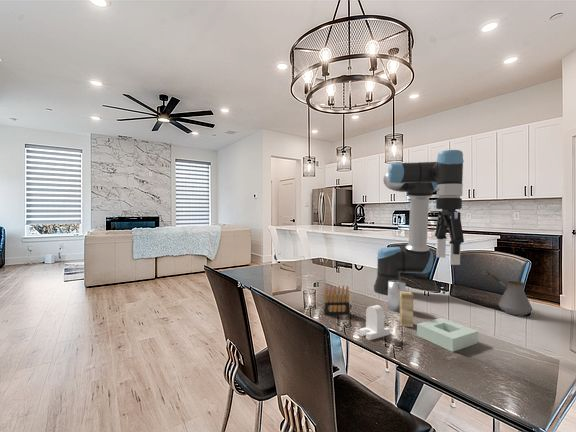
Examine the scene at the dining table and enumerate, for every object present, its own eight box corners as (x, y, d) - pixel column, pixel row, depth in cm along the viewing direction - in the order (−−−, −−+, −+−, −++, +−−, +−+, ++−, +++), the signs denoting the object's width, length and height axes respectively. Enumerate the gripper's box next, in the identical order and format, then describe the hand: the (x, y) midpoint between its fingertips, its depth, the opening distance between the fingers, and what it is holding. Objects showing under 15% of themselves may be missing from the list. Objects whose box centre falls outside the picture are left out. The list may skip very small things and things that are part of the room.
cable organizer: (390, 334, 102) (390, 306, 102) (369, 340, 97) (369, 310, 97) (379, 328, 107) (379, 301, 107) (358, 334, 102) (358, 306, 102)
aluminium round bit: (395, 305, 133) (396, 279, 132) (408, 310, 126) (409, 282, 126) (384, 307, 129) (384, 281, 129) (396, 313, 123) (397, 284, 123)
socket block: (441, 328, 107) (441, 317, 107) (477, 343, 95) (478, 331, 95) (416, 335, 101) (417, 324, 101) (452, 351, 90) (452, 339, 90)
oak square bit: (399, 322, 113) (400, 291, 113) (410, 322, 112) (411, 292, 112) (401, 326, 109) (402, 294, 109) (412, 326, 108) (413, 295, 108)
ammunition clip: (348, 312, 123) (348, 284, 123) (349, 314, 121) (350, 285, 121) (323, 313, 123) (323, 285, 122) (324, 314, 121) (324, 286, 120)
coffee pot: (539, 316, 119) (540, 280, 119) (516, 318, 117) (517, 281, 117) (493, 300, 140) (494, 269, 140) (473, 301, 138) (473, 270, 138)
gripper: (426, 198, 110) (425, 254, 111) (449, 195, 86) (447, 267, 86) (448, 198, 109) (446, 255, 109) (477, 195, 84) (475, 268, 85)
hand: (447, 260), depth 98 cm, fingers open, 13 cm apart
